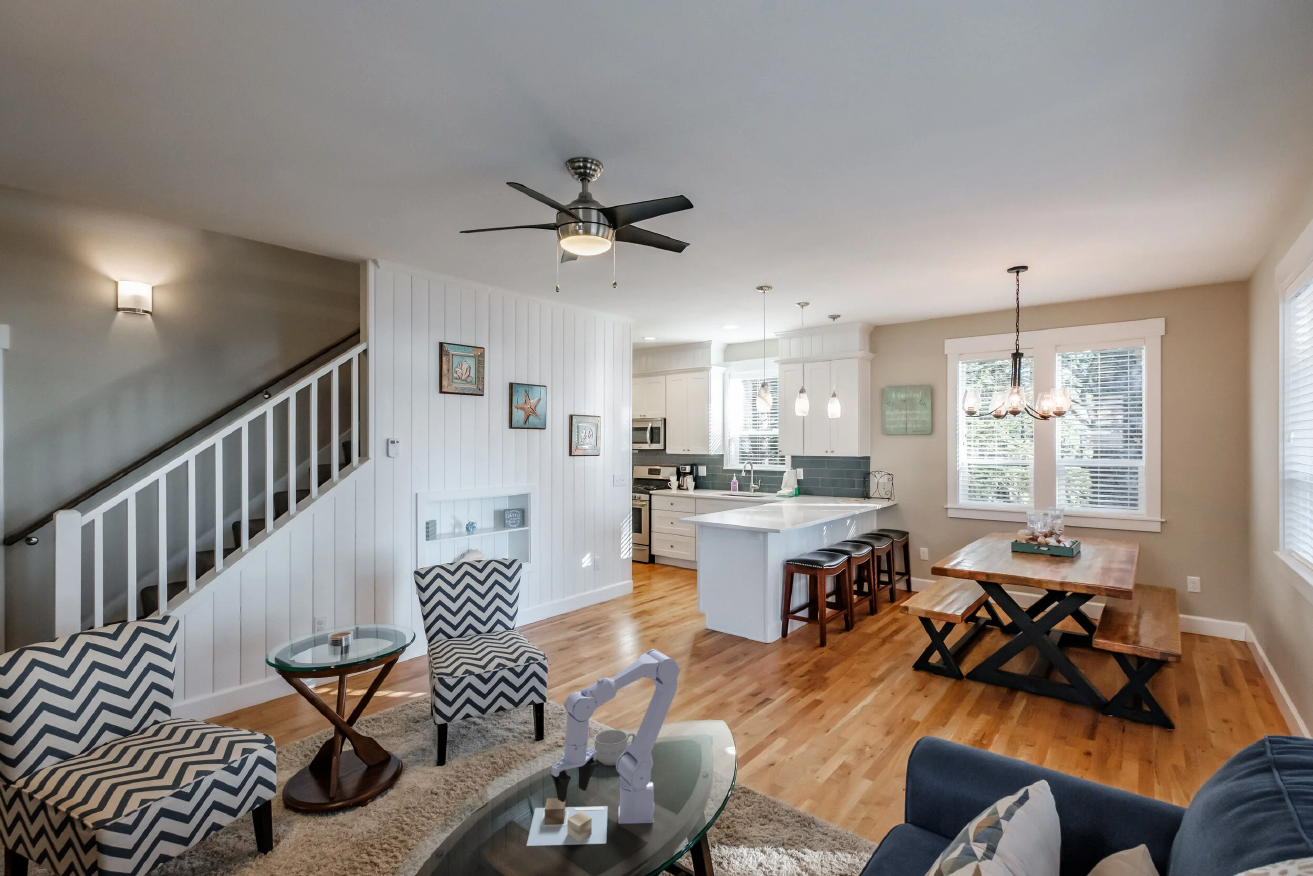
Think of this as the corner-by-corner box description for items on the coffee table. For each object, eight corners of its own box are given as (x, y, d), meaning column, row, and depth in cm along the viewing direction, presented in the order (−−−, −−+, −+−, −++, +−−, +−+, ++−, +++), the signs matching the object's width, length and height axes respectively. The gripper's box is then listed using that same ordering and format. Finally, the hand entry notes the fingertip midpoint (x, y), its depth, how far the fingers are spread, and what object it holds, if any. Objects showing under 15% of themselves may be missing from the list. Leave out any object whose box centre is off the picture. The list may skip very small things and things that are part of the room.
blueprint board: (607, 808, 173) (607, 805, 173) (606, 845, 157) (606, 843, 157) (535, 810, 172) (535, 807, 172) (526, 848, 156) (526, 845, 156)
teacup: (597, 771, 192) (597, 746, 192) (591, 754, 202) (591, 730, 202) (640, 765, 196) (641, 740, 196) (633, 749, 206) (633, 725, 206)
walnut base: (565, 812, 170) (565, 798, 170) (563, 824, 165) (563, 808, 165) (546, 813, 169) (547, 798, 169) (544, 824, 164) (544, 809, 164)
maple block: (580, 826, 164) (580, 811, 164) (591, 833, 161) (591, 818, 161) (567, 834, 160) (567, 819, 160) (578, 842, 157) (578, 826, 157)
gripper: (584, 728, 169) (580, 779, 169) (544, 744, 158) (540, 799, 157) (603, 736, 165) (599, 788, 164) (564, 754, 153) (559, 810, 153)
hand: (572, 794), depth 160 cm, fingers open, 7 cm apart
